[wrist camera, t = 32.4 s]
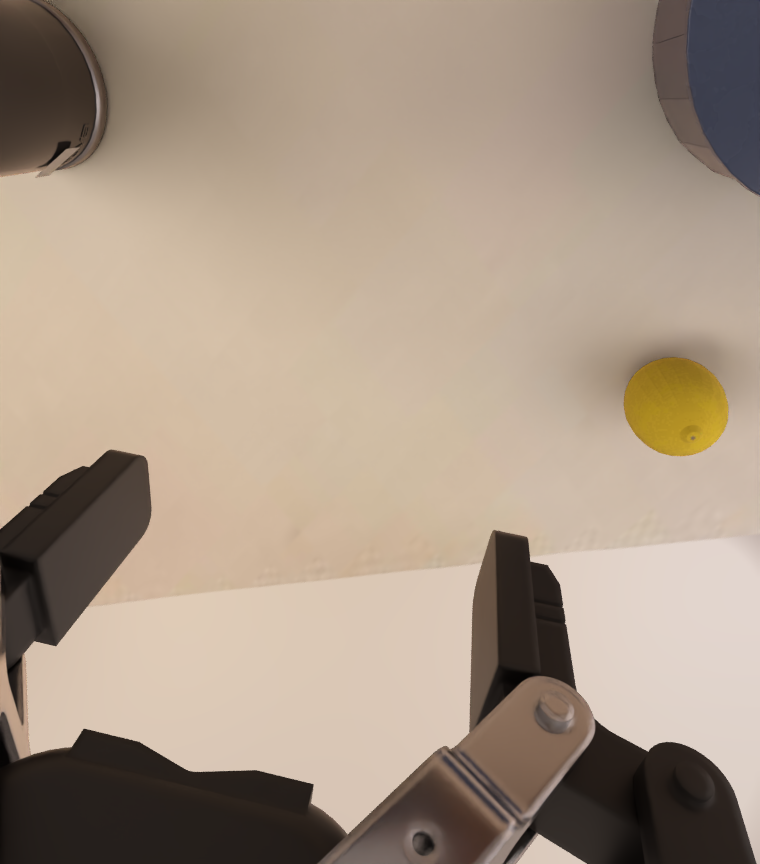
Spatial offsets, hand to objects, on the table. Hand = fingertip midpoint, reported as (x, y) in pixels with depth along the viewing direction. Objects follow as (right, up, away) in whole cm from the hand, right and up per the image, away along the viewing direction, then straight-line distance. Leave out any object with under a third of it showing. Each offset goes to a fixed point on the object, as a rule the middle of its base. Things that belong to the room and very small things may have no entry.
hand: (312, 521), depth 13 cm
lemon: (+20, +6, +26) cm, 33 cm away
